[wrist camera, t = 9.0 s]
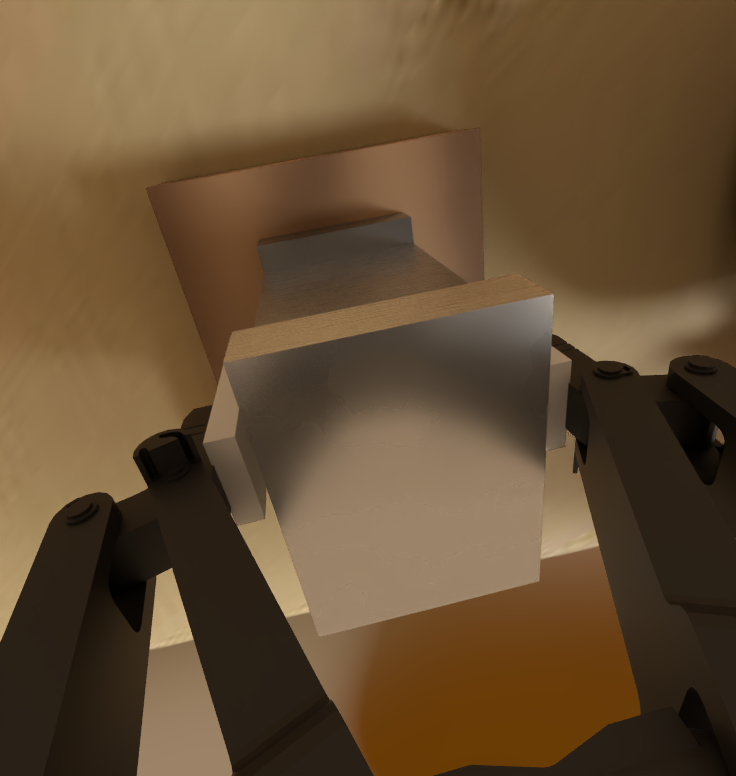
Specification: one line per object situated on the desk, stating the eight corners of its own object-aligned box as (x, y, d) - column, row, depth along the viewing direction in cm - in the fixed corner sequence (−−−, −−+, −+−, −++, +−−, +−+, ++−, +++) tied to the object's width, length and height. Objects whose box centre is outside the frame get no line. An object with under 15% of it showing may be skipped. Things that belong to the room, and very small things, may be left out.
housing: (402, 212, 19) (553, 293, 8) (420, 379, 22) (539, 581, 12) (258, 239, 18) (223, 362, 8) (302, 405, 22) (319, 637, 12)
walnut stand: (454, 130, 20) (480, 127, 18) (467, 380, 27) (487, 405, 24) (163, 182, 19) (145, 188, 17) (249, 429, 26) (245, 461, 23)
